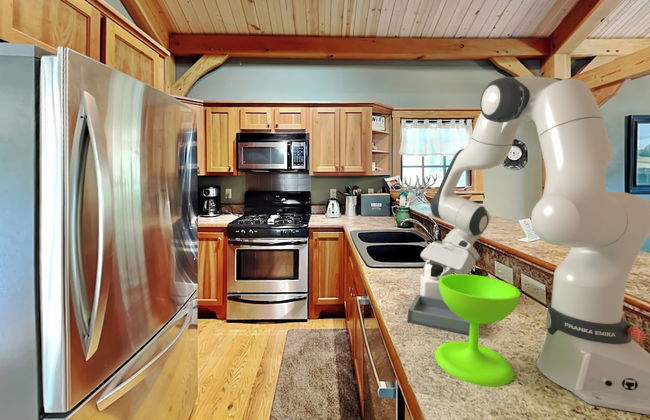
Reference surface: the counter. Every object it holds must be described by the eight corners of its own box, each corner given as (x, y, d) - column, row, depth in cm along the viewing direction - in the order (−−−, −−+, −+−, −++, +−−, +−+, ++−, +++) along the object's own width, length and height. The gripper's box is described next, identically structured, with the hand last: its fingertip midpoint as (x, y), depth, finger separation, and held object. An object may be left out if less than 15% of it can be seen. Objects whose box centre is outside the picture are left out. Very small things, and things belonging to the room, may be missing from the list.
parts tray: (477, 316, 92) (478, 305, 92) (477, 337, 80) (478, 324, 80) (416, 304, 100) (416, 294, 100) (407, 322, 88) (408, 310, 88)
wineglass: (481, 341, 78) (486, 273, 76) (532, 382, 62) (540, 297, 60) (422, 345, 76) (425, 275, 74) (460, 390, 60) (465, 301, 58)
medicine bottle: (440, 295, 109) (441, 262, 108) (445, 303, 102) (447, 268, 101) (419, 294, 110) (421, 261, 108) (424, 302, 103) (425, 267, 101)
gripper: (430, 234, 116) (408, 261, 113) (474, 245, 97) (448, 278, 94) (439, 245, 118) (417, 272, 115) (484, 258, 99) (459, 291, 96)
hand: (431, 275), depth 105 cm, fingers closed on medicine bottle, 6 cm apart
